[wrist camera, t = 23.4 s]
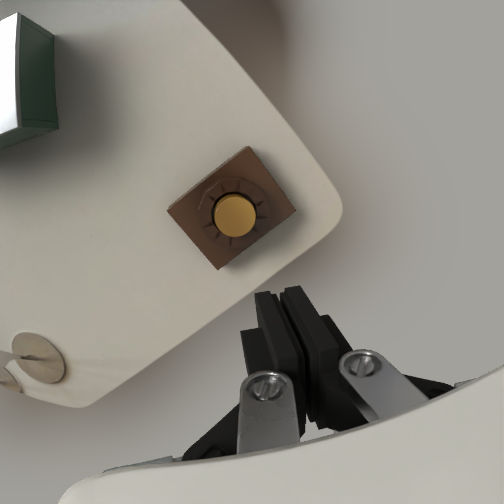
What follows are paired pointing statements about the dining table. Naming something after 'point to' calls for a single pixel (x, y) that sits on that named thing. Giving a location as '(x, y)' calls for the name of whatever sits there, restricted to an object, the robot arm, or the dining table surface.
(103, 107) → the dining table surface
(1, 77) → the tin lid
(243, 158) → the button block
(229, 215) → the button
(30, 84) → the tin
